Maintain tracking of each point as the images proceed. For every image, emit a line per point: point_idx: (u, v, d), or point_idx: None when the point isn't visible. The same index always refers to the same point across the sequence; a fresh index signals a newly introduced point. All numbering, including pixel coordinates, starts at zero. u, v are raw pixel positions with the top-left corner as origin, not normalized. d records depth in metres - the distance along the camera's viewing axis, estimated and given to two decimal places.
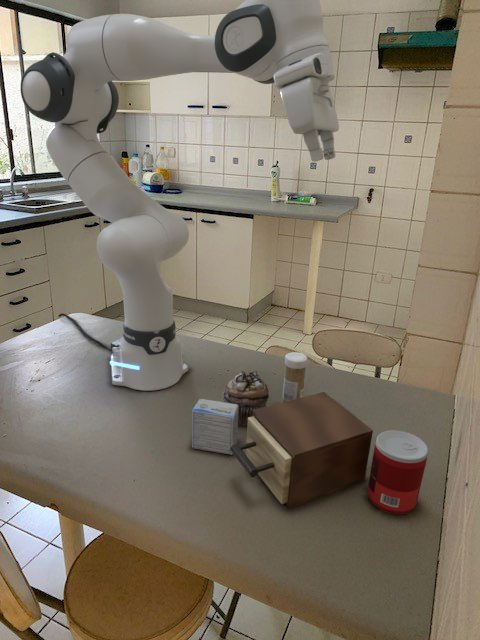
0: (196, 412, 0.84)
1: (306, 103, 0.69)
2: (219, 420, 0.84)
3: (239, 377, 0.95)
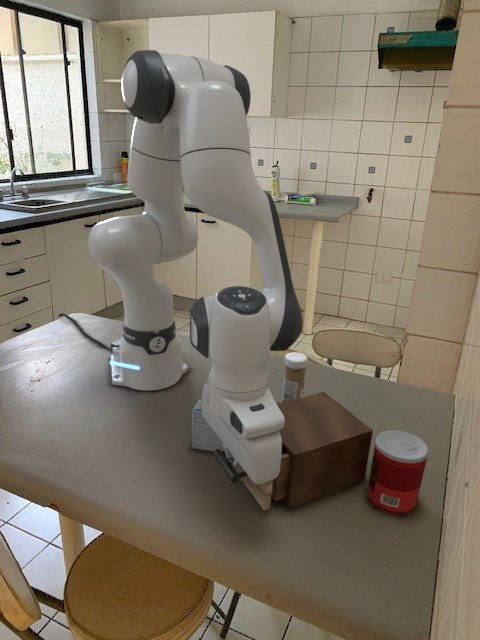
0: (196, 412, 0.84)
1: (277, 461, 0.64)
2: None
3: None
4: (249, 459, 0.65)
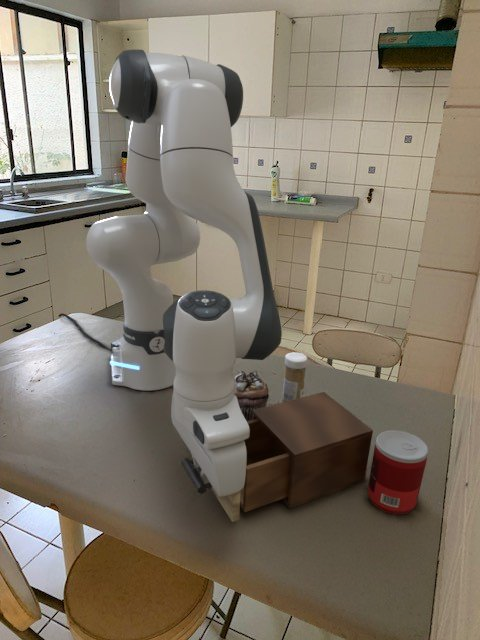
0: None
1: (241, 472, 0.62)
2: None
3: (239, 377, 0.95)
4: (213, 470, 0.63)
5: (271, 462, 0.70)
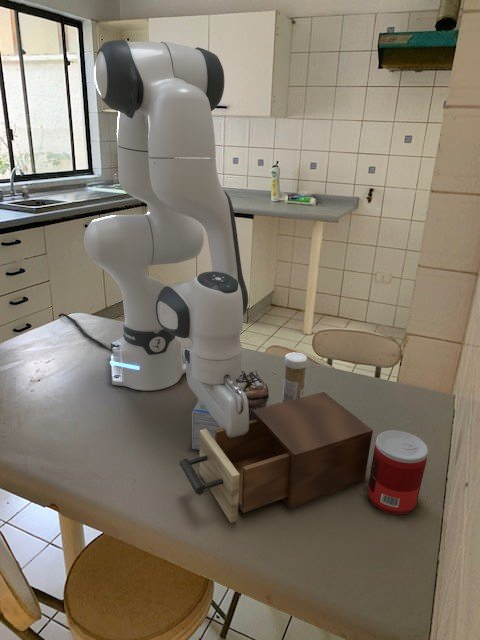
0: (196, 413, 0.84)
1: None
2: None
3: (239, 377, 0.95)
4: None
5: (270, 463, 0.70)
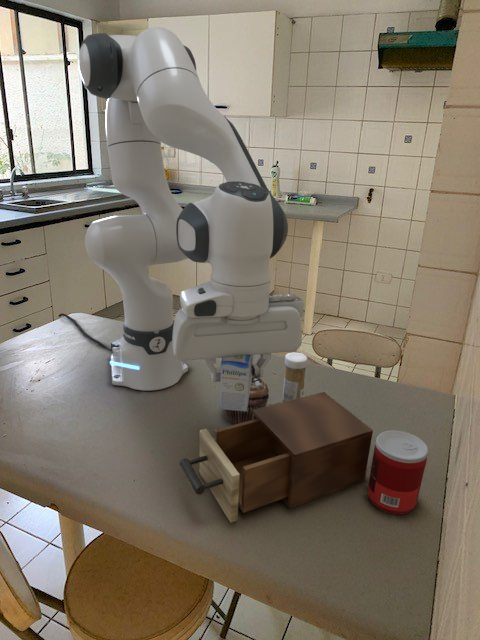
0: (249, 362, 0.70)
1: (175, 339, 0.67)
2: None
3: None
4: None
5: (270, 463, 0.70)
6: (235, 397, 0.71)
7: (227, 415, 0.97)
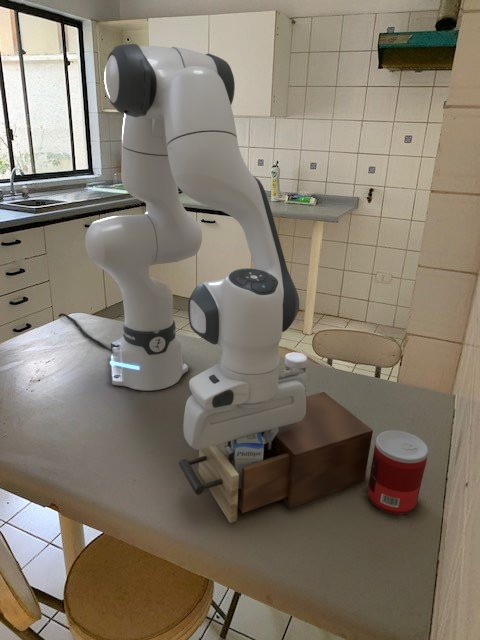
0: None
1: (191, 430, 0.66)
2: None
3: None
4: None
5: (269, 463, 0.70)
6: None
7: None
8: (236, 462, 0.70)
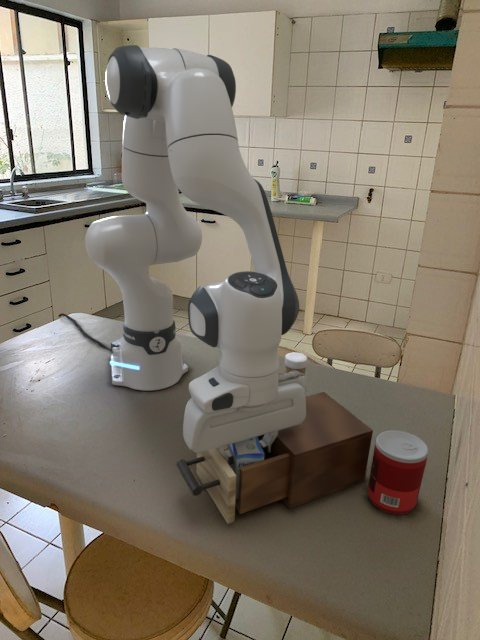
0: None
1: (191, 433, 0.66)
2: None
3: None
4: None
5: (267, 464, 0.70)
6: None
7: None
8: (237, 473, 0.71)
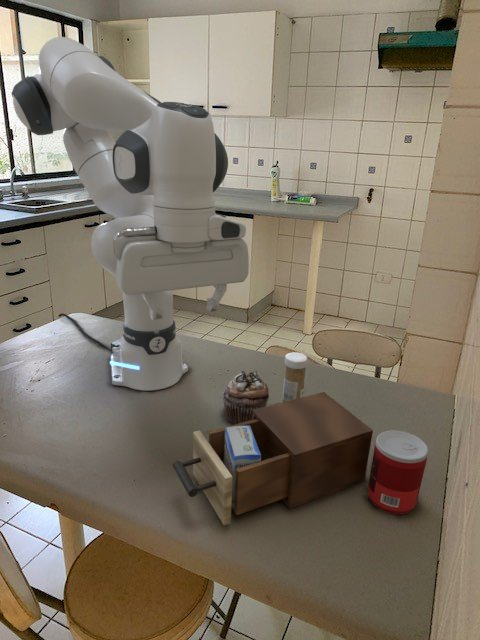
0: (259, 453, 0.71)
1: None
2: None
3: (239, 377, 0.95)
4: (235, 262, 0.71)
5: (263, 465, 0.70)
6: None
7: (227, 415, 0.97)
8: (234, 474, 0.71)
